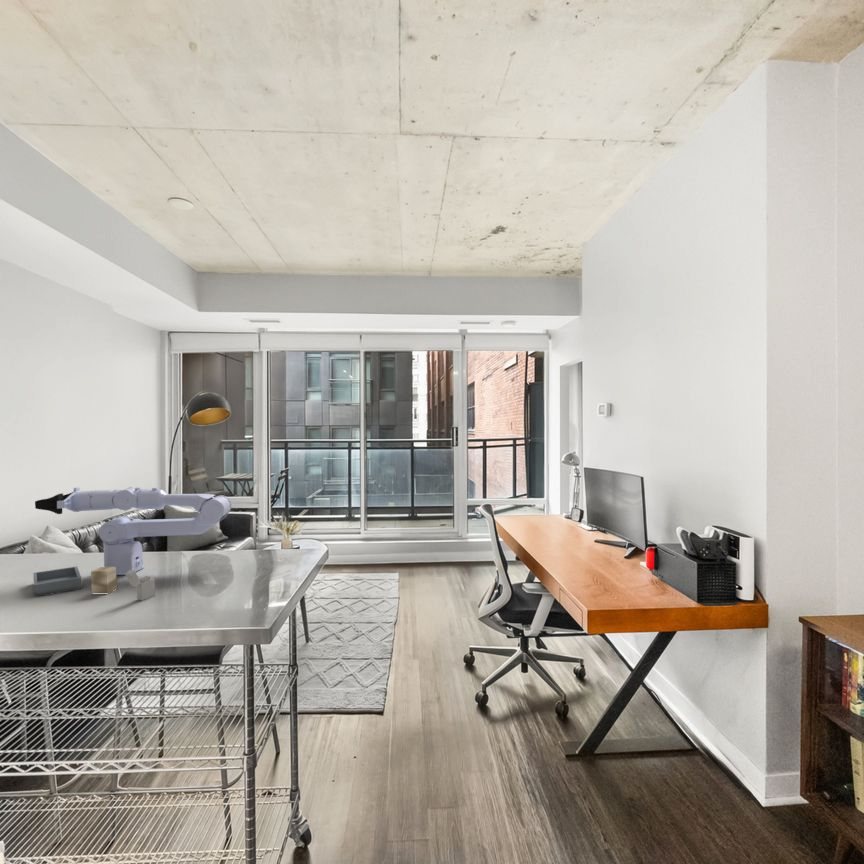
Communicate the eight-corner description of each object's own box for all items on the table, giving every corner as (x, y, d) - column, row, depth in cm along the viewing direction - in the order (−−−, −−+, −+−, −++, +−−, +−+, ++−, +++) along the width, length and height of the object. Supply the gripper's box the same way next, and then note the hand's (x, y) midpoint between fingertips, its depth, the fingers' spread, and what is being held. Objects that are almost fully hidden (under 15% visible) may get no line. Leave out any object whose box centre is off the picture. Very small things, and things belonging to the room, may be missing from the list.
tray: (77, 576, 154) (77, 566, 154) (81, 588, 143) (81, 577, 143) (33, 583, 148) (33, 572, 148) (34, 596, 137) (34, 585, 137)
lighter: (150, 594, 137) (149, 563, 137) (155, 595, 136) (154, 563, 136) (125, 604, 130) (124, 571, 130) (131, 604, 130) (130, 571, 129)
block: (116, 589, 142) (115, 566, 142) (107, 594, 138) (106, 571, 138) (101, 589, 142) (100, 567, 142) (91, 594, 138) (90, 571, 138)
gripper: (106, 484, 164) (57, 486, 163) (80, 489, 150) (27, 491, 148) (106, 507, 164) (58, 509, 163) (81, 514, 150) (28, 517, 148)
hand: (44, 502), depth 155 cm, fingers open, 7 cm apart
